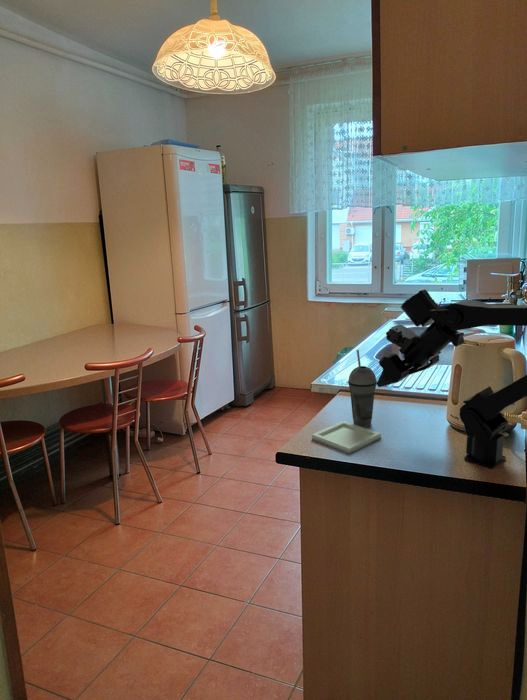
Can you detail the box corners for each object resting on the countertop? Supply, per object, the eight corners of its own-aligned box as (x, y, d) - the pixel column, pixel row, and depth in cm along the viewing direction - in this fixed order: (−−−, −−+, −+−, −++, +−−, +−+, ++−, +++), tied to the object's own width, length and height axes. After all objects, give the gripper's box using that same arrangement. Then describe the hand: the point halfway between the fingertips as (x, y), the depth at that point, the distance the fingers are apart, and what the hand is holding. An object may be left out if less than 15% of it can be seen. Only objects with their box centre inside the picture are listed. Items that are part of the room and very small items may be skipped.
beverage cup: (376, 430, 133) (377, 353, 128) (347, 428, 135) (347, 353, 130) (376, 419, 140) (377, 346, 135) (348, 418, 141) (348, 346, 137)
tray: (380, 438, 128) (380, 433, 128) (349, 453, 121) (349, 448, 120) (343, 425, 137) (343, 420, 137) (312, 439, 129) (311, 434, 129)
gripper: (428, 309, 127) (388, 347, 138) (386, 322, 115) (346, 363, 125) (458, 344, 124) (415, 381, 134) (418, 362, 111) (374, 401, 121)
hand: (388, 380), depth 129 cm, fingers open, 9 cm apart
